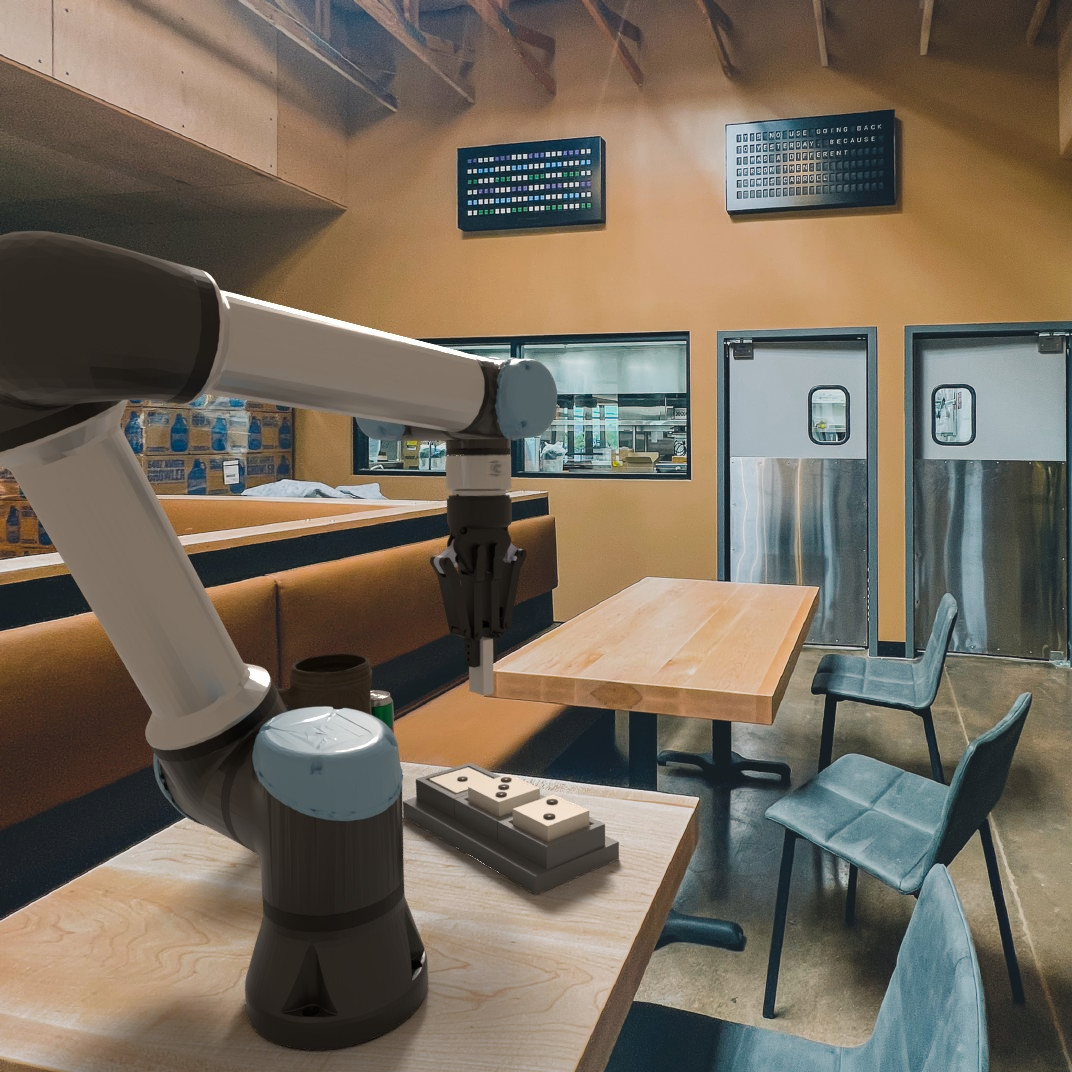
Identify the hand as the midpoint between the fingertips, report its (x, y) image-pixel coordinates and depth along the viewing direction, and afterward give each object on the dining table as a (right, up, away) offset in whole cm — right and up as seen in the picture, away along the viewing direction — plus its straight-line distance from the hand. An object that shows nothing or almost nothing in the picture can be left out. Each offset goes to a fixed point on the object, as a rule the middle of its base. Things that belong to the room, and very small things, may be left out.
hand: (481, 691), depth 106 cm
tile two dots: (+8, -14, -7) cm, 18 cm away
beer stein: (-20, -17, +6) cm, 27 cm away
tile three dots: (+3, -14, -1) cm, 14 cm away
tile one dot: (-3, -14, +6) cm, 16 cm away
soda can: (-16, -16, +19) cm, 29 cm away
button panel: (+3, -17, 0) cm, 17 cm away
